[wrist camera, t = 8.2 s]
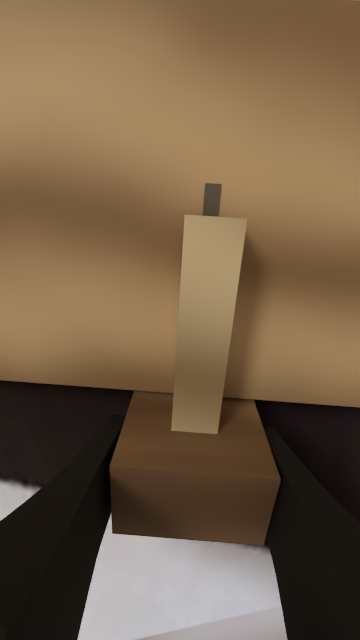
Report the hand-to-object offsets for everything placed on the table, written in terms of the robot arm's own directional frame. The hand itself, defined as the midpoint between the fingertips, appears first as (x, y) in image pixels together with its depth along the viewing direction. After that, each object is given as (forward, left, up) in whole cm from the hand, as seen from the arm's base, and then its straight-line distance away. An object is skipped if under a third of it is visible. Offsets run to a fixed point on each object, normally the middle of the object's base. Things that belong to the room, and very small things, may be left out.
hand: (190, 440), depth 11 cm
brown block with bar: (+3, 0, -3) cm, 4 cm away
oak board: (+8, +8, -3) cm, 12 cm away
